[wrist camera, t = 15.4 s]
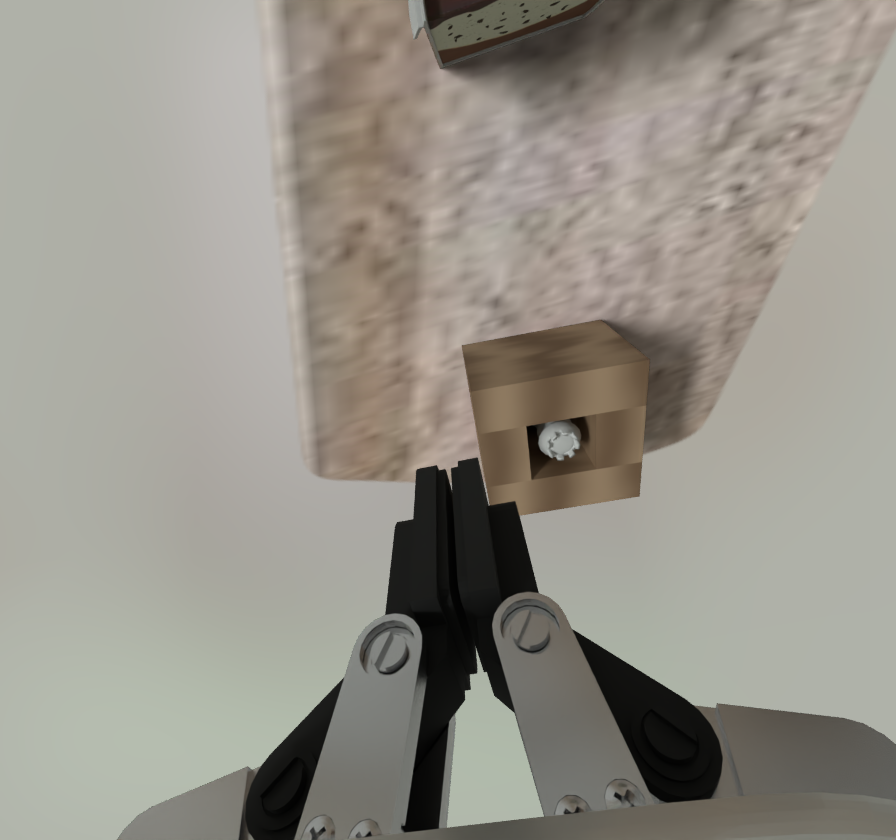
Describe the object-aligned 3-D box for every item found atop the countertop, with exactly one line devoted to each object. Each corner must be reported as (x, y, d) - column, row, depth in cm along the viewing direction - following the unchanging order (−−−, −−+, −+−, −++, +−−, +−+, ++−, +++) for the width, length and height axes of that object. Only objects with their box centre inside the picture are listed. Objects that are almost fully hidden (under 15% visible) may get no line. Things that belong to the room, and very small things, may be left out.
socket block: (600, 319, 35) (649, 359, 27) (599, 436, 41) (639, 496, 33) (461, 345, 35) (470, 391, 28) (480, 456, 42) (492, 519, 34)
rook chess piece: (522, 371, 36) (544, 416, 29) (570, 379, 36) (602, 426, 30) (508, 414, 38) (525, 466, 31) (553, 422, 39) (580, 474, 32)
